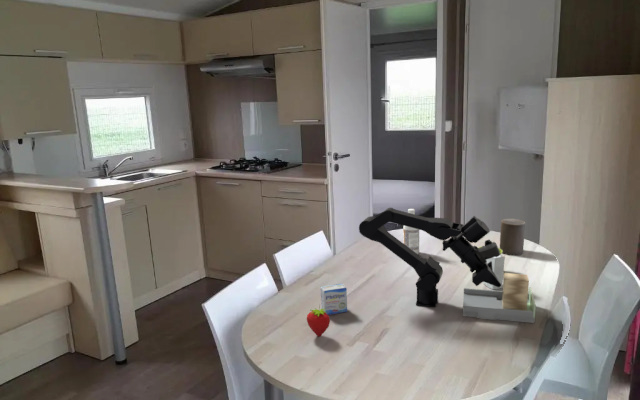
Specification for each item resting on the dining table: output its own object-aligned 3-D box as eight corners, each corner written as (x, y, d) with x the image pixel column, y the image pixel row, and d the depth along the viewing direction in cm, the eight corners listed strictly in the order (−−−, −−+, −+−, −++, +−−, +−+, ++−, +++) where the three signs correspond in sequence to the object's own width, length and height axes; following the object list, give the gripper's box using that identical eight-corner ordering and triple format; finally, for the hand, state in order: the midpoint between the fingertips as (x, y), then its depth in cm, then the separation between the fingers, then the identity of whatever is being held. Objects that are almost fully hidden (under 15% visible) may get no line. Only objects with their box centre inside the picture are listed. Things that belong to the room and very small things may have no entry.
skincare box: (482, 283, 177) (483, 252, 174) (492, 282, 178) (494, 251, 175) (492, 290, 171) (494, 258, 168) (503, 288, 172) (505, 256, 169)
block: (502, 308, 152) (504, 278, 150) (502, 301, 157) (503, 272, 155) (526, 310, 150) (528, 280, 148) (525, 303, 155) (527, 274, 153)
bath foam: (404, 250, 216) (404, 207, 212) (420, 251, 214) (420, 207, 210) (401, 255, 210) (401, 211, 206) (417, 256, 208) (418, 211, 203)
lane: (462, 316, 152) (463, 299, 151) (463, 298, 165) (464, 282, 164) (534, 323, 146) (535, 305, 145) (529, 304, 159) (530, 287, 158)
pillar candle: (500, 254, 206) (502, 221, 202) (498, 247, 215) (500, 215, 211) (524, 256, 203) (527, 222, 199) (522, 248, 212) (524, 216, 208)
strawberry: (314, 328, 149) (313, 298, 146) (334, 335, 144) (333, 304, 142) (303, 336, 144) (301, 305, 142) (323, 343, 140) (321, 312, 137)
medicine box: (324, 315, 157) (323, 291, 155) (321, 310, 161) (320, 286, 159) (347, 312, 159) (346, 287, 157) (343, 306, 163) (342, 282, 161)
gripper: (485, 244, 143) (523, 282, 142) (484, 226, 160) (517, 260, 159) (457, 267, 147) (493, 304, 146) (458, 247, 164) (491, 280, 163)
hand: (500, 286), depth 154 cm, fingers closed
